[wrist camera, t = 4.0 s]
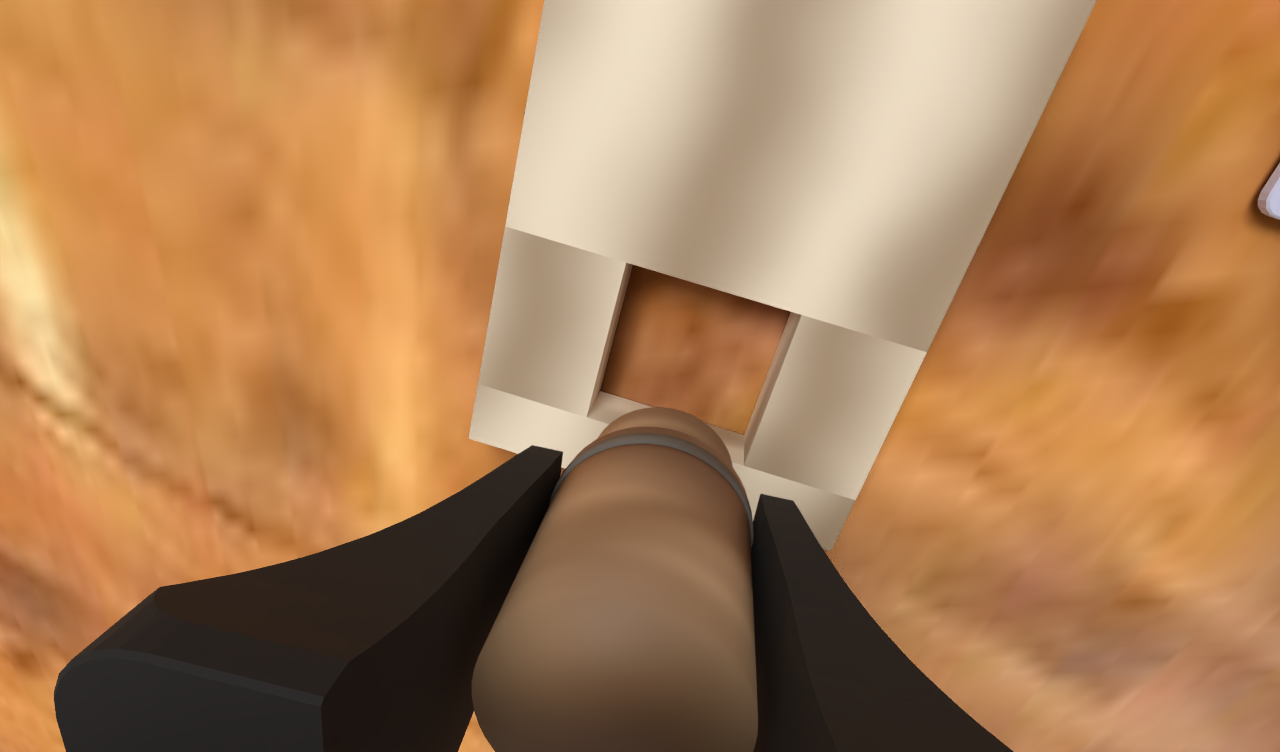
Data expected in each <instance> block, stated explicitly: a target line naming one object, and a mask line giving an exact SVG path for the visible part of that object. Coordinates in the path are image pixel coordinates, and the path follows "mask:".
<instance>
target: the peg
mask: <svg viewBox="0 0 1280 752" xmlns="http://www.w3.org/2000/svg"><path fill="white" fill-rule="evenodd" d="M752 544H753V519H752V511H751V507H750V504H749V501H748V498H747V494H746V491H745V488H744V486H743V484H742V482H741V480H740V478H739V476H738V475H737V473H736V471H735V470H734V468H733V466H732V461H731V457H730V454H729V452H728V450H727V448H726V446H725V444H724V442H723V441H722V439H721V438H720V437H719V436H718V434H717V433H716V432H715V431H714V430H713V429H712V428H711V427H710V426H709V425H707V424H706V423H704V422H703V421H702V420H700V419H698V418H696V417H695V416H693V415H691V414H688V413H685V412H683V411H679V410H675V409H670V408H663V407H652V408H643V409H639V410H634V411H632V412H629V413H626V414H624V415H622V416H620V417H619V418H617V419H616V420H614V421H613V422H611V423H610V424H609V425H608V426H607V427H606V428H605V429H604V430H603V431H602V433H601V434H600V435H599V437H598V438H597V439H596V440H594V441H593V442H592V443H590V444H589V445H587V446H586V447H585V448H584V449H583V450H582V451H580V452H579V453H578V454H577V455H576V457H575V458H574V459H573V461H572V462H570V464H569V465H568V466H567V468H566V469H565V470H564V471H563V473H562V475H561V477H560V478H559V480H558V482H557V484H556V486H555V488H554V490H553V493H552V496H551V498H550V504H549V508H548V510H547V512H546V514H545V516H544V518H543V520H542V522H541V525H540V527H539V529H538V531H537V533H536V535H535V537H534V539H533V542H532V544H531V546H530V548H529V550H528V552H527V554H526V556H525V559H524V561H523V563H522V565H521V567H520V569H519V571H518V573H517V576H516V578H515V580H514V582H513V584H512V586H511V588H510V591H509V593H508V595H507V597H506V599H505V601H504V603H503V605H502V608H501V610H500V612H499V614H498V616H497V618H496V620H495V622H494V625H493V627H492V629H491V631H490V633H489V635H488V637H487V639H486V642H485V644H484V646H483V648H482V650H481V652H480V654H479V657H478V659H477V662H476V665H475V668H474V672H473V678H472V701H473V707H474V712H475V715H476V717H477V720H478V723H479V726H480V728H481V730H482V732H483V734H484V736H485V737H486V739H487V740H488V742H489V743H490V745H491V746H492V748H493V749H494V751H495V752H753V750H754V748H755V744H756V739H757V734H758V706H757V681H756V656H755V631H754V606H753V581H752V556H751V548H752Z"/></svg>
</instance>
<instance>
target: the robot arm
mask: <svg viewBox="0 0 1280 752" xmlns="http://www.w3.org/2000/svg"><path fill="white" fill-rule="evenodd" d="M1258 208H1259V209H1260V211H1261V213H1263V214H1265V215H1266V216H1269V217H1272V218H1276V219H1279V220H1280V163H1279V164H1278V166H1277V168H1276V169H1275V171H1274V172H1273V174H1272V175H1271V177H1270V178H1269V180H1268V182H1267V183H1266V185H1265V186H1264V188H1263V189H1262V191H1261V193H1260V195H1259V198H1258ZM562 457H563V452H562V451H558V450H553V449H548V448H544V447H539V446H534V445H532V446H530V447H528V448H527V449H525V450H524V451H522V452H520V453H519V454H517V455H516V456H514V457H513V458H511V459H510V460H508V461H507V462H505V463H504V464H502V465H501V466H499V467H498V468H496V469H495V470H493V471H492V472H490V473H488V474H487V475H485V476H484V477H482V478H481V479H479V480H477V481H476V482H474V483H472V484H471V485H469V486H468V487H466V488H464V489H463V490H461V491H460V492H458V493H456V494H454V495H452V496H450V497H449V498H447V499H445V500H443V501H441V502H440V503H438V504H436V505H434V506H432V507H430V508H429V509H427V510H425V511H423V512H421V513H419V514H417V515H415V516H413V517H410V518H408V519H406V520H404V521H402V522H400V523H397V524H395V525H392V526H390V527H388V528H385V529H383V530H381V531H378V532H376V533H373V534H371V535H368V536H366V537H363V538H360V539H357V540H354V541H351V542H348V543H345V544H342V545H339V546H336V547H334V548H331V549H328V550H325V551H322V552H319V553H316V554H312V555H309V556H305V557H302V558H298V559H295V560H291V561H287V562H284V563H280V564H276V565H272V566H268V567H263V568H259V569H255V570H251V571H246V572H242V573H237V574H232V575H226V576H221V577H215V578H210V579H204V580H199V581H193V582H188V583H182V584H176V585H170V586H163V587H160V588H158V589H157V590H156V591H154V592H153V593H152V594H150V595H149V596H148V597H147V598H145V599H144V600H143V601H142V602H141V603H139V604H138V605H137V606H136V607H135V608H133V609H132V610H131V611H130V612H128V613H127V614H126V615H125V616H124V617H122V618H121V619H120V620H119V621H118V622H116V623H115V624H114V625H113V626H112V627H110V628H109V629H108V630H107V631H106V632H104V633H103V634H102V635H101V636H100V637H98V638H97V639H96V640H95V641H94V642H92V643H91V644H90V645H89V646H88V647H86V648H85V649H84V650H83V651H82V652H80V653H79V654H78V655H77V656H75V657H74V658H73V659H72V660H71V661H70V662H69V663H68V664H67V665H66V667H65V668H64V669H63V670H62V671H61V672H60V673H59V676H58V679H57V683H56V687H55V690H54V703H55V711H56V718H57V722H58V725H59V729H60V732H61V736H62V739H63V742H64V746H65V749H66V752H458V750H459V747H460V745H461V742H462V740H463V737H464V735H465V732H466V729H467V727H468V724H469V722H470V719H471V717H472V714H473V712H474V707H473V701H472V678H473V672H474V668H475V665H476V662H477V659H478V657H479V654H480V652H481V650H482V648H483V646H484V644H485V642H486V639H487V637H488V635H489V633H490V631H491V629H492V627H493V625H494V622H495V620H496V618H497V616H498V614H499V612H500V610H501V608H502V605H503V603H504V601H505V599H506V597H507V595H508V593H509V591H510V588H511V586H512V584H513V582H514V580H515V578H516V576H517V573H518V571H519V569H520V567H521V565H522V563H523V561H524V559H525V556H526V554H527V552H528V550H529V548H530V546H531V544H532V542H533V539H534V537H535V535H536V533H537V531H538V529H539V527H540V525H541V522H542V520H543V518H544V516H545V514H546V512H547V510H548V508H549V504H550V498H551V496H552V493H553V490H554V488H555V486H556V484H557V482H558V480H559V478H560V474H561V466H562ZM751 556H752V581H753V606H754V631H755V656H756V681H757V706H758V734H757V739H756V744H755V748H754V750H753V752H1013V751H1012V750H1011V749H1010V748H1008V747H1007V746H1006V745H1005V744H1003V743H1002V742H1001V741H1000V740H998V739H997V738H996V737H995V736H993V735H992V734H991V733H990V732H988V731H987V730H986V729H985V728H983V727H982V726H981V725H980V724H979V723H977V722H976V721H975V720H974V719H973V718H972V717H970V716H969V715H968V714H967V713H966V712H965V711H963V710H962V709H961V708H960V707H959V706H958V705H957V704H955V703H954V702H953V701H952V700H951V699H950V698H949V697H948V696H947V695H946V694H945V693H944V692H943V691H941V690H940V689H939V688H938V687H937V686H936V685H935V684H934V683H933V682H932V681H931V680H930V679H929V678H928V677H927V676H925V675H924V674H923V673H922V672H921V671H920V670H919V669H918V668H917V667H916V666H915V665H914V664H913V663H912V662H911V661H910V660H909V658H908V657H907V656H906V655H905V654H904V653H903V652H902V651H901V650H900V649H899V648H898V646H897V645H896V644H895V643H894V642H893V641H892V640H891V639H890V638H889V637H888V635H887V634H886V633H885V632H884V631H883V630H882V629H881V628H880V626H879V625H878V624H877V623H876V622H875V621H874V619H873V618H872V617H871V616H870V614H869V613H868V612H867V611H866V609H865V608H864V607H863V605H862V604H861V603H860V602H859V600H858V599H857V598H856V596H855V595H854V594H853V592H852V591H851V590H850V589H849V587H848V586H847V584H846V583H845V582H844V580H843V579H842V577H841V576H840V574H839V573H838V571H837V570H836V568H835V567H834V565H833V564H832V562H831V561H830V559H829V558H828V556H827V555H826V553H825V552H824V550H823V548H822V547H821V545H820V544H819V542H818V540H817V539H816V537H815V535H814V534H813V532H812V530H811V529H810V527H809V525H808V524H807V522H806V520H805V519H804V517H803V515H802V514H801V512H800V510H799V509H798V507H797V505H796V504H795V502H794V501H793V500H788V499H783V498H779V497H774V496H769V495H765V494H760V497H759V501H758V505H757V508H756V512H755V516H754V520H753V544H752V548H751Z"/></svg>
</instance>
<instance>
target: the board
mask: <svg viewBox="0 0 1280 752" xmlns="http://www.w3.org/2000/svg"><path fill="white" fill-rule="evenodd" d="M1095 3H1096V0H545V1H544V6H543V12H542V18H541V24H540V30H539V35H538V41H537V47H536V53H535V58H534V64H533V70H532V76H531V81H530V87H529V93H528V99H527V104H526V110H525V116H524V122H523V128H522V133H521V139H520V145H519V151H518V156H517V162H516V168H515V174H514V179H513V185H512V191H511V197H510V202H509V208H508V214H507V220H506V226H505V231H504V237H503V243H502V249H501V254H500V260H499V266H498V272H497V277H496V283H495V289H494V295H493V300H492V306H491V312H490V318H489V324H488V329H487V335H486V341H485V347H484V352H483V358H482V364H481V370H480V375H479V381H478V387H477V393H476V398H475V404H474V410H473V416H472V422H471V427H470V433H469V439H472V440H475V441H479V442H482V443H485V444H488V445H491V446H495V447H498V448H501V449H504V450H507V451H511V452H514V453H517V454H519V453H520V452H522V451H524V450H525V449H527V448H528V447H530V446H532V445H534V446H539V447H544V448H548V449H553V450H558V451H562V452H563V457H562V466H561V467H562V468H565V469H566V468H567V466H568V465H569V464H570V462H572V461H573V459H574V458H575V457H576V455H577V454H578V453H579V452H580V451H582V450H583V449H584V448H585V447H586V446H587V445H589V444H590V443H592V442H593V441H594V440H596V439H597V438H598V437H599V435H600V434H601V433H602V431H603V430H604V429H605V428H606V427H607V426H608V425H609V424H610V423H611V422H613V421H614V420H616V419H617V418H619V417H620V416H622V415H624V414H626V413H629V412H632V411H634V410H639V409H643V408H652V407H651V406H648V405H644V404H641V403H638V402H635V401H631V400H628V399H625V398H621V397H618V396H615V395H612V394H608V393H605V392H602V391H600V389H601V385H602V381H603V377H604V374H605V370H606V366H607V362H608V358H609V354H610V351H611V347H612V343H613V339H614V335H615V332H616V328H617V324H618V320H619V316H620V312H621V309H622V305H623V301H624V297H625V293H626V289H627V286H628V282H629V278H630V274H631V270H632V267H633V265H636V266H639V267H643V268H646V269H650V270H653V271H656V272H660V273H663V274H666V275H670V276H673V277H676V278H680V279H683V280H686V281H690V282H693V283H696V284H700V285H703V286H706V287H710V288H713V289H716V290H720V291H723V292H727V293H730V294H733V295H737V296H740V297H743V298H747V299H750V300H753V301H757V302H760V303H763V304H767V305H770V306H773V307H777V308H780V309H783V310H787V311H790V315H789V318H788V320H787V323H786V326H785V328H784V331H783V334H782V336H781V339H780V342H779V344H778V347H777V350H776V352H775V355H774V358H773V360H772V363H771V365H770V368H769V371H768V373H767V376H766V379H765V381H764V384H763V387H762V389H761V392H760V395H759V397H758V400H757V403H756V405H755V408H754V411H753V413H752V416H751V419H750V421H749V424H748V427H747V429H746V432H745V435H742V434H739V433H736V432H732V431H729V430H726V429H723V428H719V427H716V426H713V425H710V424H707V425H709V426H710V427H711V428H712V429H713V430H714V431H715V432H716V433H717V434H718V436H719V437H720V438H721V439H722V441H723V442H724V444H725V446H726V448H727V450H728V452H729V454H730V457H731V461H732V466H733V468H734V470H735V471H736V473H737V475H738V476H739V478H740V480H741V482H742V484H743V486H744V488H745V491H746V494H747V498H748V501H749V504H750V507H751V511H752V519H753V520H754V516H755V512H756V508H757V505H758V501H759V497H760V494H765V495H769V496H774V497H779V498H783V499H788V500H793V501H794V502H795V504H796V505H797V507H798V509H799V510H800V512H801V514H802V515H803V517H804V519H805V520H806V522H807V524H808V525H809V527H810V529H811V530H812V532H813V534H814V535H815V537H816V539H817V540H818V542H819V544H820V545H821V547H822V548H823V549H825V550H828V551H831V550H832V548H833V546H834V544H835V542H836V540H837V538H838V536H839V534H840V531H841V529H842V527H843V525H844V523H845V521H846V519H847V517H848V515H849V513H850V511H851V509H852V507H853V504H854V502H855V500H856V498H857V496H858V494H859V492H860V490H861V488H862V486H863V484H864V482H865V480H866V478H867V475H868V473H869V471H870V469H871V467H872V465H873V463H874V461H875V459H876V457H877V455H878V453H879V451H880V448H881V446H882V444H883V442H884V440H885V438H886V436H887V434H888V432H889V430H890V428H891V426H892V424H893V422H894V419H895V417H896V415H897V413H898V411H899V409H900V407H901V405H902V403H903V401H904V399H905V397H906V395H907V392H908V390H909V388H910V386H911V384H912V382H913V380H914V378H915V376H916V374H917V372H918V370H919V368H920V366H921V363H922V361H923V359H924V357H925V355H926V353H927V351H928V349H929V347H930V345H931V343H932V341H933V339H934V336H935V334H936V332H937V330H938V328H939V326H940V324H941V322H942V320H943V318H944V316H945V314H946V312H947V310H948V307H949V305H950V303H951V301H952V299H953V297H954V295H955V293H956V291H957V289H958V287H959V285H960V283H961V280H962V278H963V276H964V274H965V272H966V270H967V268H968V266H969V264H970V262H971V260H972V258H973V256H974V254H975V251H976V249H977V247H978V245H979V243H980V241H981V239H982V237H983V235H984V233H985V231H986V229H987V227H988V224H989V222H990V220H991V218H992V216H993V214H994V212H995V210H996V208H997V206H998V204H999V202H1000V200H1001V198H1002V195H1003V193H1004V191H1005V189H1006V187H1007V185H1008V183H1009V181H1010V179H1011V177H1012V175H1013V173H1014V171H1015V168H1016V166H1017V164H1018V162H1019V160H1020V158H1021V156H1022V154H1023V152H1024V150H1025V148H1026V146H1027V144H1028V142H1029V139H1030V137H1031V135H1032V133H1033V131H1034V129H1035V127H1036V125H1037V123H1038V121H1039V119H1040V117H1041V115H1042V112H1043V110H1044V108H1045V106H1046V104H1047V102H1048V100H1049V98H1050V96H1051V94H1052V92H1053V90H1054V88H1055V86H1056V83H1057V81H1058V79H1059V77H1060V75H1061V73H1062V71H1063V69H1064V67H1065V65H1066V63H1067V61H1068V59H1069V56H1070V54H1071V52H1072V50H1073V48H1074V46H1075V44H1076V42H1077V40H1078V38H1079V36H1080V34H1081V32H1082V30H1083V27H1084V25H1085V23H1086V21H1087V19H1088V17H1089V15H1090V13H1091V11H1092V9H1093V7H1094V5H1095Z"/></svg>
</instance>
